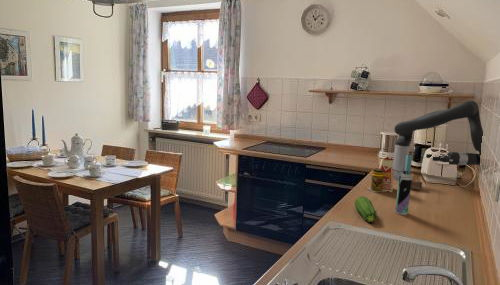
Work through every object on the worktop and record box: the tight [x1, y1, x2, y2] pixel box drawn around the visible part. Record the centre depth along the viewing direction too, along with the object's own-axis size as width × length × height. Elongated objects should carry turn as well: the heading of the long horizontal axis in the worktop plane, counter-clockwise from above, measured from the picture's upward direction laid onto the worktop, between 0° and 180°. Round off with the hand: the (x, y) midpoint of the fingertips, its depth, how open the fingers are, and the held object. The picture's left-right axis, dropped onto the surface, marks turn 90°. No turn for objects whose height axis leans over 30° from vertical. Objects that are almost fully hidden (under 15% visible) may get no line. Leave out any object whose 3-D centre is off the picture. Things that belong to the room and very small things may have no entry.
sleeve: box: [393, 170, 413, 182], centre depth 236 cm, size 11×6×5 cm, turn 179°
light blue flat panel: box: [399, 154, 413, 175], centre depth 232 cm, size 15×3×16 cm, turn 179°
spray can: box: [394, 171, 413, 216], centre depth 176 cm, size 6×6×20 cm
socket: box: [411, 179, 423, 191], centre depth 219 cm, size 6×6×5 cm
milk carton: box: [378, 154, 394, 193], centre depth 214 cm, size 9×9×20 cm
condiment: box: [366, 167, 387, 193], centre depth 211 cm, size 7×8×12 cm
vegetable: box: [354, 195, 378, 223], centre depth 170 cm, size 7×7×20 cm
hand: (429, 157), depth 227 cm, fingers open, 8 cm apart
